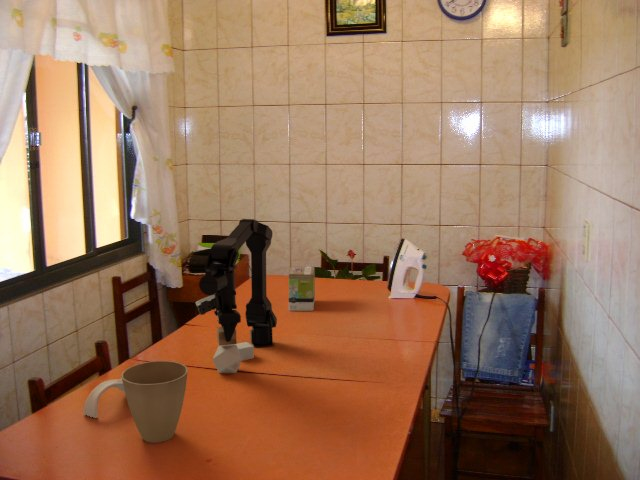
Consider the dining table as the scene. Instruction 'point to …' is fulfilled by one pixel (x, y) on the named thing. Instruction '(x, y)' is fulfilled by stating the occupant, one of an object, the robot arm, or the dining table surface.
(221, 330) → the walnut block
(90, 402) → the white curved arch
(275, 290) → the dining table surface
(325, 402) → the dining table surface
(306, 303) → the tea box
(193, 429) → the dining table surface
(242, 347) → the grey block
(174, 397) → the plant pot
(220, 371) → the pale faceted polyhedron
